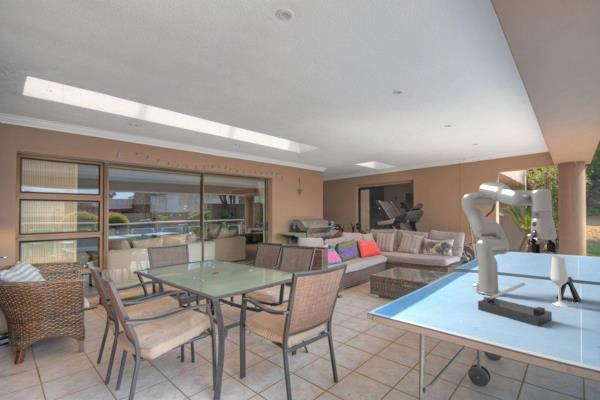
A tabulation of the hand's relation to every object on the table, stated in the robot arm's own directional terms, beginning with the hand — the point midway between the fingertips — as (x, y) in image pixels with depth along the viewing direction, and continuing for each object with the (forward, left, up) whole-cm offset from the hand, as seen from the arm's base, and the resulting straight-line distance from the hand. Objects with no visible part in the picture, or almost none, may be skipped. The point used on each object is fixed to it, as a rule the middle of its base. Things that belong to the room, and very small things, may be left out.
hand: (543, 252), depth 135 cm
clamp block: (-6, -16, -28) cm, 33 cm away
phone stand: (-4, +37, -28) cm, 47 cm away
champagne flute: (-2, +21, -28) cm, 35 cm away
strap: (-9, -16, -19) cm, 26 cm away
